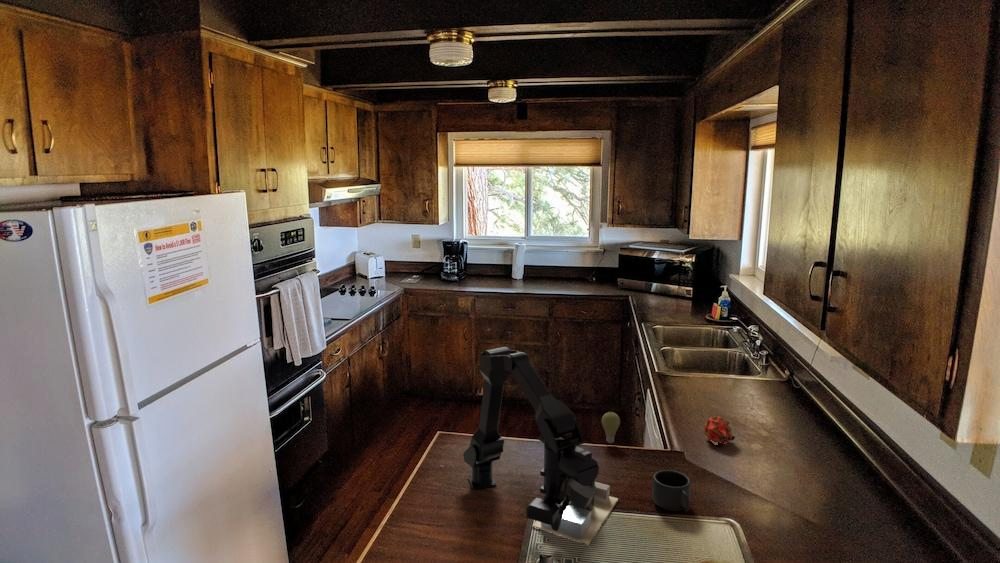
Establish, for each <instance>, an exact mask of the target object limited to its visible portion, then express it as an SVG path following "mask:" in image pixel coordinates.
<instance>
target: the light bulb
mask: <svg viewBox="0 0 1000 563" xmlns="http://www.w3.org/2000/svg"><path fill="white" fill-rule="evenodd" d="M620 424H621V418H620V417H619V415H618V414H617V413H615V412H613V411H608V412H607V411H606V413H604V414H603V416H602V417H601V425H602V428H603V429H604V433H605V436H606V438H605V439H606V440H605V441H606V442H607V443H608V444H612V443H614V442H615V436H616V433H617V431H618V429H619V427H620Z"/></svg>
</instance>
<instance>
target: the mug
mask: <svg viewBox="0 0 1000 563" xmlns="http://www.w3.org/2000/svg"><path fill="white" fill-rule="evenodd" d="M691 483H692V482H691V479H690V477H689V476H688V475H686V474H684V473H682V472H680V471H677V470H672V469H664V470H663V469H662V470H658V471H656V472H655V473H654V474H653V475H652V490H651V492H652V499H653V501H654V503H655V504H656V505H657V506H658V507H660V508H661V509H663V510H667V511H672V512H677V511H679V512H680V511H684V512H689V511H690V508H691V507H690V506H691V505H690V501H691V500H690V499H691V487H692V486H691Z"/></svg>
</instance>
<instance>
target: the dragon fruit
mask: <svg viewBox="0 0 1000 563" xmlns="http://www.w3.org/2000/svg"><path fill="white" fill-rule="evenodd" d="M703 430H704V431H703V435H704V434H705V435H706V436H707V437H708V438H709V439H710V440H712V441H714V442H721V443H722V444H725V445H726V444H728V441H731V442H732V441H734V440H735V438H736V436H735V435H733V433H732V431H733V429H732V427H731V426H730V421H729V420H726V419H724V418H723V417H722V416H719V415H718V416H712V417H709V418H708V419H707V420H706V421H705V422H704V425H703ZM709 439H708V440H709ZM710 440H709V441H710ZM726 440H727V441H726ZM722 444H721V445H722Z"/></svg>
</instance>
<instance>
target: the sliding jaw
mask: <svg viewBox="0 0 1000 563" xmlns="http://www.w3.org/2000/svg"><path fill="white" fill-rule="evenodd" d="M566 507H567V508H566V509H565V511H564V513H563V516H562V519H561V523H560V526H559V529H558V530H557V531H559V532H562V533H565V534H568V535H571V536H574V537H577V538H582V537H583V535H584V534H585V532H586V531H587V529H588V528H589V527H590V525H591V511H588V510H585V509H581V508H578V507H575V506H571V505H568V506H566ZM541 526H543V527H546V528H549V529H552V527H551V525H548V524H545V523H542V522H541ZM552 530H553V529H552Z"/></svg>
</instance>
